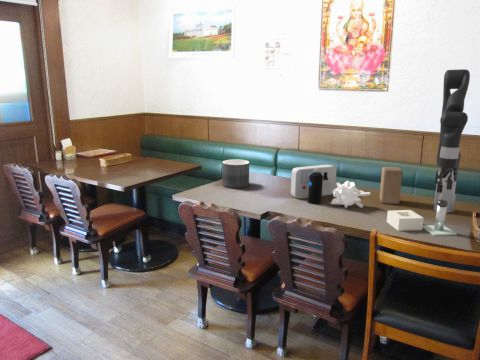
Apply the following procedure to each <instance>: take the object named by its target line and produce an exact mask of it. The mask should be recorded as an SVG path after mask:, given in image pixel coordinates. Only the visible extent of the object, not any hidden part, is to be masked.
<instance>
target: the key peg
mask: <svg viewBox="0 0 480 360" xmlns="http://www.w3.org/2000/svg"><path fill="white" fill-rule="evenodd" d="M447 205H448V201H446V200H437V211H435V219H434V224H433V225H434V229H435V230H437V231H443V229H444V226H445V223H446V222H445V221H446V214H447V213H446V208H447Z"/></svg>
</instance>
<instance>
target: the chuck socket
mask: <svg viewBox="0 0 480 360" xmlns="http://www.w3.org/2000/svg"><path fill="white" fill-rule="evenodd" d="M386 223H387V224H388V225H390V226H391V227H393V229H395V230H396V231H399V232H403V231H405V232H406V231H422V230H423V228H422V227H423V226H424V216H421V215H419V214H418V213H416V211H414V210H411V209H401V210H399V209H397V210H395V209H393V210H387V215H386Z"/></svg>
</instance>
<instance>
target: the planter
mask: <svg viewBox="0 0 480 360" xmlns="http://www.w3.org/2000/svg"><path fill="white" fill-rule="evenodd" d="M221 165H222V186H223V187H224V188H229V189H243V188H248V187H249V186H250V161H249V160H246V159H237V158H235V159H226V160H223V161H222V164H221Z"/></svg>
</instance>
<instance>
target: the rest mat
mask: <svg viewBox="0 0 480 360" xmlns="http://www.w3.org/2000/svg"><path fill="white" fill-rule="evenodd" d="M434 225H435V224H433V225H431V224H430V225H429V224H427V225H423V227H422V230H424V231H426V232H428V233H429V234H431V235H432V236H433V237H436V236H438V237H439V236H442V237H443V236H444V237H445V236H457V234H458V233H457V232H455V231H454V230H452V229H451V228H449V227H447V226H446V225H444V229H443V231H437V230H435V229H434Z"/></svg>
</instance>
